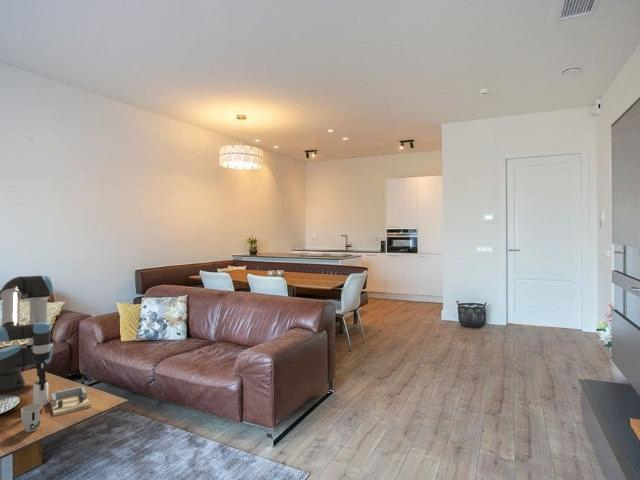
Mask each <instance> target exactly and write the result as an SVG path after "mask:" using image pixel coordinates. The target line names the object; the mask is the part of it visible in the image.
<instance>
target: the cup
mask: <svg viewBox="0 0 640 480" xmlns="http://www.w3.org/2000/svg"><path fill="white" fill-rule="evenodd" d="M43 408H44V406H43V405H42V404H33V403H32V404H29V405H26V406H23V407H22V408H21V409H20V415H21V417H20V419H21V424H22V427H23V430H24V432H26V433H27V432H28V433H29V432H34V431H36V430H38V429H39V427H40V424H41V422H42V416H43Z"/></svg>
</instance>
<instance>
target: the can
mask: <svg viewBox="0 0 640 480" xmlns="http://www.w3.org/2000/svg"><path fill="white" fill-rule="evenodd" d="M41 382H42V381H41ZM38 383H39V381H37V380H36V381H35V382H34V384H33V387H32V390H33V391H32V404H42V405H43V407H44V406H46V405H47V404H48V403H49V382H48V380H47V379H46V383H45V396H42V397H39V385H37V384H38Z"/></svg>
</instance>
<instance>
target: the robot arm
mask: <svg viewBox="0 0 640 480" xmlns="http://www.w3.org/2000/svg"><path fill="white" fill-rule="evenodd" d="M53 289H54V287H53V281H52V278H51V277H50V275H30V276H29V275H28V276H16V277H14V278H12V279H10V280H9V281H7V282H6V283H5V284H4V285H3V287H2V288H1V290H0V299H1V300H2V306H1V309H2V311H1V327H0V343H4V342H5V343H6V342H11V341H13V342H14V341H21V340H28V342H27V343H26V345H25V346H26V347H22V345H19V344H18V345H12V346H8V347H4V348H1V349H0V393H1V394H2V393H8V392H13V391H16V390H19V389H22V388H23V387H24V386H25V385H26V380H25V378H24V375H23V373H22V368H23V369H24V368H29V367H35V366H36V382H37V381H39V383H38V384H37V385H39V397H42V396H45V383H46V380H47V379H46V370H47V368H46V367H47V364H49V363H50V362H51V360H52V356H53V352H54V349H53V348H54V347H53V346H54V344H53V343H51V329H52V328H51V323H50V321H48V300H49V299H50V297H51V295H52V294H54V290H53ZM22 296H23V297H25V296H26V299H27V300H28V301H29V324H23V325H21V321H20V318H21V317H20V310H21V309H20V299H21V297H22ZM41 381H42V382H41Z"/></svg>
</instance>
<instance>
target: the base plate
mask: <svg viewBox="0 0 640 480" xmlns="http://www.w3.org/2000/svg"><path fill="white" fill-rule="evenodd" d="M56 399H57V405H53V404H52V400H51V398H50V399H49V404H50V407H51V412H52V415H53V417H55V416H59V415H64V414H67V413H71V412H76V411H79V410H84V409H89V408H91V406H92V405H91V401H90V399H89V398H88V397H87V398H85V399H84V396H82V394H81V393H78V394H74V395H69V396H64V397H60V398H56Z"/></svg>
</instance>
